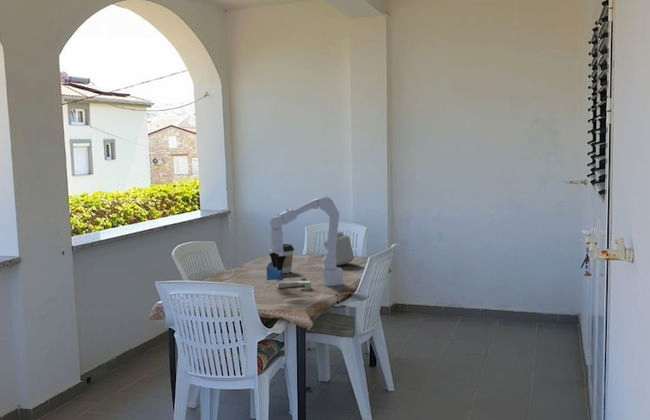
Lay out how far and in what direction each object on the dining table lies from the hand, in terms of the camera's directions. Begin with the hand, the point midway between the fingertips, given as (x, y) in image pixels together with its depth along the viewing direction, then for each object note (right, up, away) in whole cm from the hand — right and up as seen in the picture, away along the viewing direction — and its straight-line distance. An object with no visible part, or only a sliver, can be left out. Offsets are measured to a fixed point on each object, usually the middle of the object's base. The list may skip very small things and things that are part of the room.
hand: (277, 268), depth 295 cm
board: (+9, -10, -8) cm, 16 cm away
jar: (+30, -4, +56) cm, 63 cm away
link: (+7, -8, -4) cm, 12 cm away
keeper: (+13, -9, -8) cm, 18 cm away
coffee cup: (+1, -6, +38) cm, 38 cm away
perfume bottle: (-3, -8, +22) cm, 24 cm away
